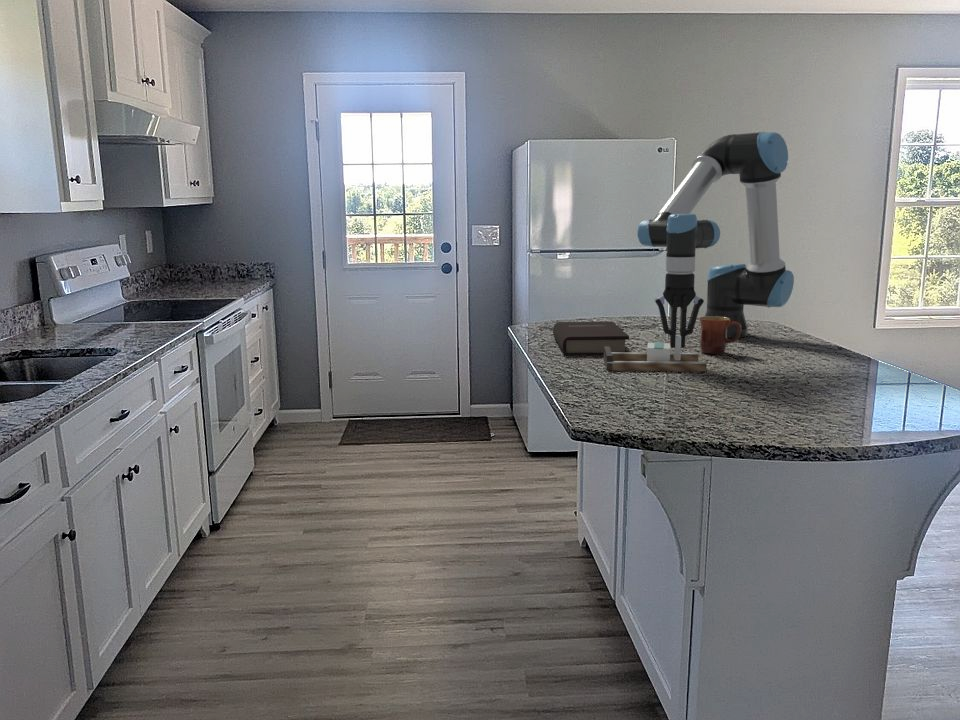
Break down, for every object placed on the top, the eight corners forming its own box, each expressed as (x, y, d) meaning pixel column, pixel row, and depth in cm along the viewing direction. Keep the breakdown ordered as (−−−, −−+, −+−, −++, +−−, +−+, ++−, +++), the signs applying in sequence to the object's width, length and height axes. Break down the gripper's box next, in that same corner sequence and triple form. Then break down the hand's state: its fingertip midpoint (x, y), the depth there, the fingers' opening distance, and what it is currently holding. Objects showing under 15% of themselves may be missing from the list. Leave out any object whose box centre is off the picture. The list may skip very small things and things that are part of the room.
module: (669, 362, 219) (670, 342, 218) (669, 368, 211) (670, 348, 210) (647, 362, 220) (648, 341, 219) (646, 368, 213) (647, 347, 211)
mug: (694, 354, 230) (696, 319, 228) (700, 349, 238) (701, 315, 235) (737, 357, 225) (739, 321, 223) (741, 351, 233) (743, 317, 230)
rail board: (697, 360, 221) (697, 346, 220) (706, 371, 208) (706, 356, 207) (603, 360, 223) (603, 346, 223) (606, 370, 210) (607, 355, 209)
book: (552, 339, 258) (552, 322, 257) (612, 339, 259) (612, 321, 257) (562, 356, 231) (562, 337, 230) (628, 355, 231) (629, 336, 230)
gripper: (702, 271, 213) (698, 356, 218) (653, 271, 214) (651, 356, 219) (707, 273, 206) (703, 362, 210) (657, 274, 207) (654, 362, 211)
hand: (676, 359), depth 215 cm, fingers closed
